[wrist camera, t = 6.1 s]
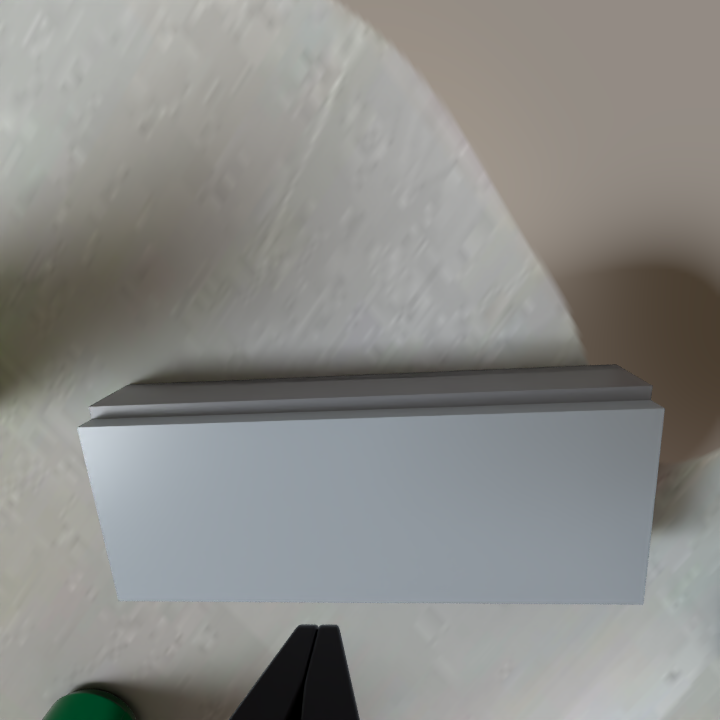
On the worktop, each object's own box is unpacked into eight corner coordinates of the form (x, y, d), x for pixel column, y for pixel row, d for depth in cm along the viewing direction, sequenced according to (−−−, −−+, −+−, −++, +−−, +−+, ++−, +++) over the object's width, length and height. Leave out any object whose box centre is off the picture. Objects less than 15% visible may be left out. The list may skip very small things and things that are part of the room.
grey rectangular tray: (616, 364, 17) (652, 385, 15) (599, 539, 19) (629, 583, 17) (127, 384, 19) (88, 406, 16) (163, 542, 21) (133, 582, 19)
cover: (650, 399, 15) (665, 408, 14) (632, 588, 16) (643, 604, 16) (92, 419, 17) (77, 427, 16) (130, 586, 18) (118, 600, 18)
